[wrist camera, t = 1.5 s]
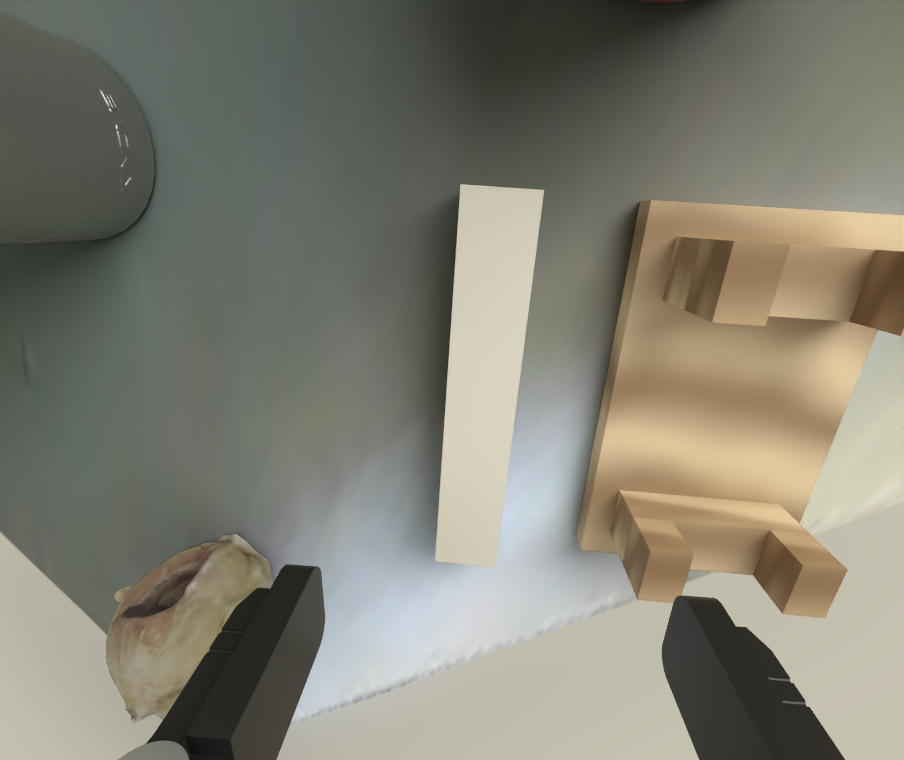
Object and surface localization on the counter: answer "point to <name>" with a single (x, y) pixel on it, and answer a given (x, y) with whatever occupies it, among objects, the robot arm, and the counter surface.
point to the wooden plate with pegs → (734, 391)
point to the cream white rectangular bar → (484, 365)
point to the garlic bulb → (177, 620)
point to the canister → (661, 1)
